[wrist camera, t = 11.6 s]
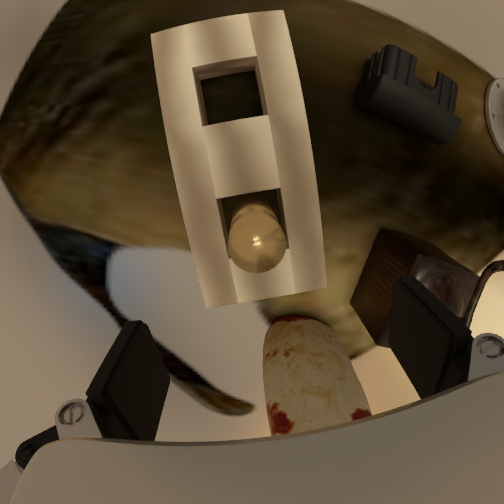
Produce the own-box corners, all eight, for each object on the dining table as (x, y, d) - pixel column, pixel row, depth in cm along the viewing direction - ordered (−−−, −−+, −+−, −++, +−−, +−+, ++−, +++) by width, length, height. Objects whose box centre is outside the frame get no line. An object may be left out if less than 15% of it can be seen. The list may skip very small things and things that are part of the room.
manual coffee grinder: (411, 316, 36) (480, 402, 19) (347, 303, 34) (409, 412, 18) (455, 213, 31) (557, 263, 14) (392, 183, 30) (510, 226, 13)
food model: (339, 309, 35) (405, 438, 16) (326, 351, 37) (370, 478, 18) (262, 303, 34) (279, 452, 15) (254, 347, 36) (262, 488, 17)
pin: (268, 190, 30) (282, 212, 19) (274, 227, 31) (289, 267, 21) (229, 196, 30) (222, 223, 19) (237, 233, 31) (234, 277, 21)
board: (277, 29, 23) (283, 10, 19) (315, 267, 33) (326, 287, 28) (164, 50, 24) (150, 34, 19) (211, 285, 33) (206, 307, 28)
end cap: (349, 111, 27) (375, 103, 20) (361, 56, 25) (388, 38, 18) (422, 144, 28) (457, 147, 22) (432, 93, 26) (467, 87, 19)
